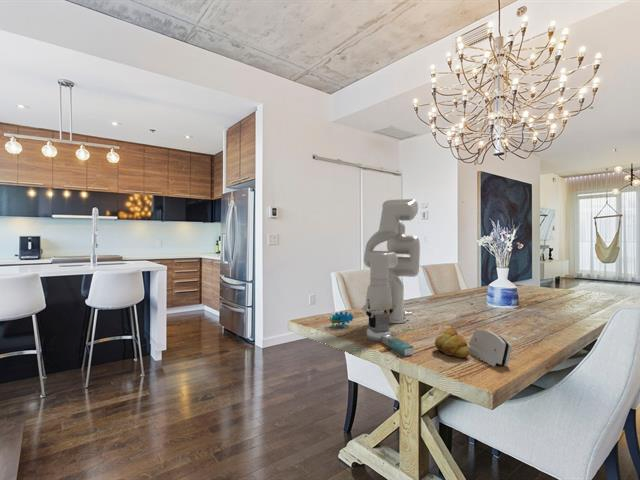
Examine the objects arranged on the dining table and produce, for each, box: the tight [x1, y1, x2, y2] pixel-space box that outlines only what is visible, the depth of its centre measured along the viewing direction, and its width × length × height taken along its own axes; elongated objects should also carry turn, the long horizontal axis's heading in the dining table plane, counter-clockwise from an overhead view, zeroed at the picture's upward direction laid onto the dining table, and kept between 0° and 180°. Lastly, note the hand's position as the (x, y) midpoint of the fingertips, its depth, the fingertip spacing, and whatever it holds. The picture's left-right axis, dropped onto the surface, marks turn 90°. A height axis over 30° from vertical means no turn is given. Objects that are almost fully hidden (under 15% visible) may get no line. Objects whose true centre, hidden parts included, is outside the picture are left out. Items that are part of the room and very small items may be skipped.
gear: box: [329, 311, 354, 329], centre depth 154 cm, size 11×6×10 cm
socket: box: [368, 310, 390, 333], centre depth 138 cm, size 6×6×7 cm
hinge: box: [467, 329, 512, 367], centre depth 117 cm, size 17×5×10 cm, turn 10°
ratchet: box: [366, 327, 414, 357], centre depth 130 cm, size 10×26×8 cm, turn 20°
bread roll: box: [434, 327, 470, 358], centre depth 121 cm, size 13×10×8 cm
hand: (379, 325), depth 138 cm, fingers closed on socket, 5 cm apart
